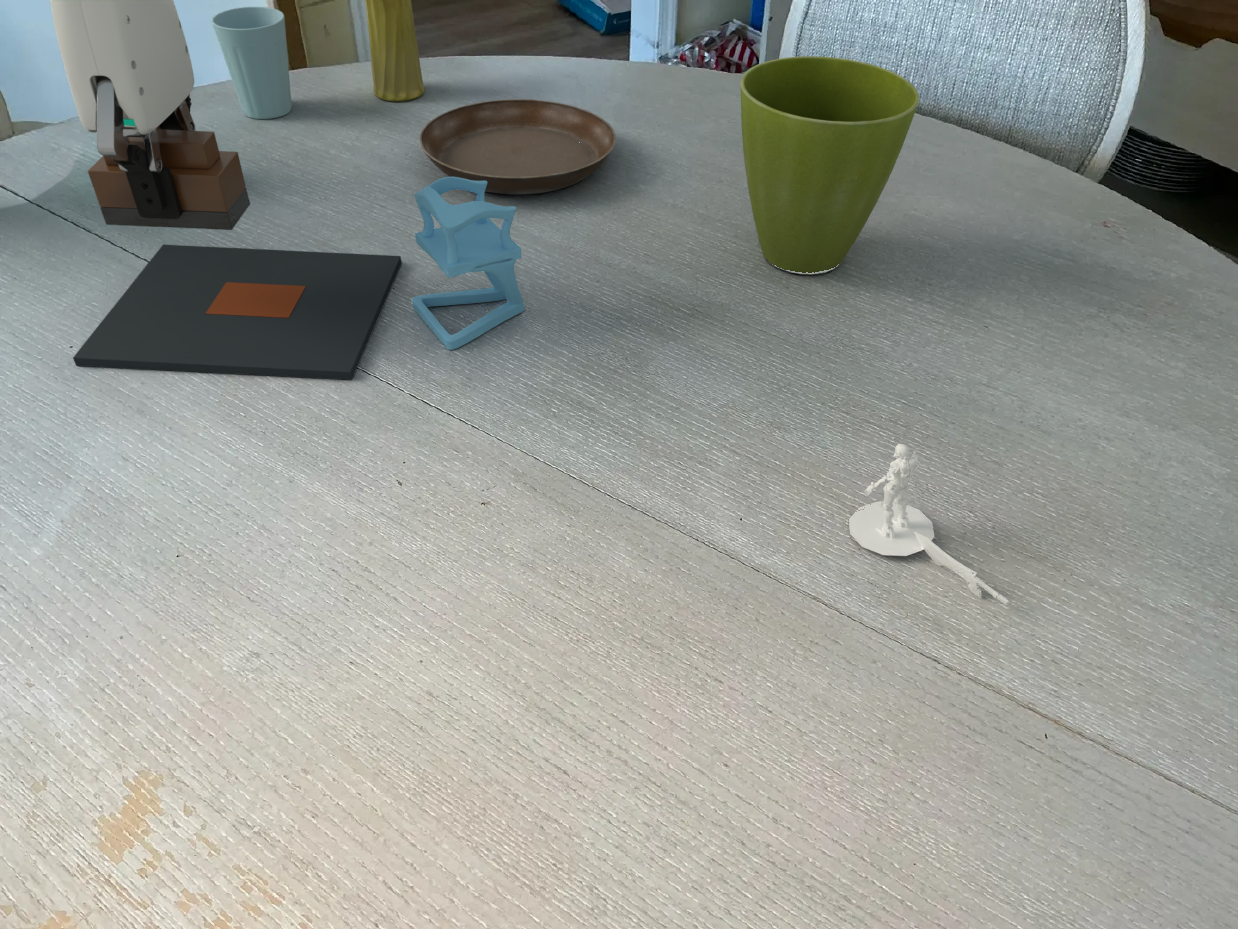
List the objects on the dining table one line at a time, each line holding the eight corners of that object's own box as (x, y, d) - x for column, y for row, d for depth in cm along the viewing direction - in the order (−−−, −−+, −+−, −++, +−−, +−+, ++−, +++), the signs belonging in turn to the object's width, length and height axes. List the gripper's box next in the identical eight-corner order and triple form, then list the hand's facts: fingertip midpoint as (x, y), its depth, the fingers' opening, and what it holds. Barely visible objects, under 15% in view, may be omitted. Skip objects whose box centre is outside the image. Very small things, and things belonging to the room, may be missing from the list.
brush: (105, 224, 79) (77, 145, 75) (129, 199, 82) (104, 121, 78) (232, 230, 79) (211, 150, 74) (250, 204, 82) (231, 126, 78)
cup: (220, 109, 118) (197, 15, 111) (278, 92, 122) (260, 1, 115) (254, 129, 114) (234, 33, 107) (313, 111, 118) (297, 18, 111)
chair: (538, 323, 86) (534, 192, 78) (448, 351, 82) (434, 217, 74) (497, 282, 91) (489, 154, 83) (411, 306, 87) (394, 176, 79)
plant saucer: (487, 110, 119) (486, 82, 117) (646, 147, 113) (647, 118, 111) (383, 179, 105) (379, 149, 103) (557, 225, 99) (557, 194, 96)
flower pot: (744, 206, 103) (763, 45, 92) (892, 233, 99) (929, 69, 88) (704, 278, 92) (720, 105, 81) (868, 311, 88) (907, 134, 78)
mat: (75, 365, 80) (72, 357, 79) (165, 251, 93) (162, 243, 93) (352, 380, 79) (350, 371, 79) (401, 263, 93) (400, 255, 92)
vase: (363, 91, 123) (345, -35, 113) (405, 79, 126) (390, -45, 117) (393, 106, 120) (376, -23, 110) (435, 93, 123) (422, -33, 114)
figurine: (885, 502, 71) (896, 408, 67) (1033, 592, 64) (1058, 493, 59) (829, 537, 69) (836, 442, 64) (976, 636, 61) (997, 536, 56)
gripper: (101, -85, 74) (169, 153, 86) (-22, -16, 61) (79, 252, 73) (202, -81, 74) (256, 157, 86) (100, -11, 61) (181, 257, 73)
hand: (174, 198), depth 80 cm, fingers closed on brush, 4 cm apart
